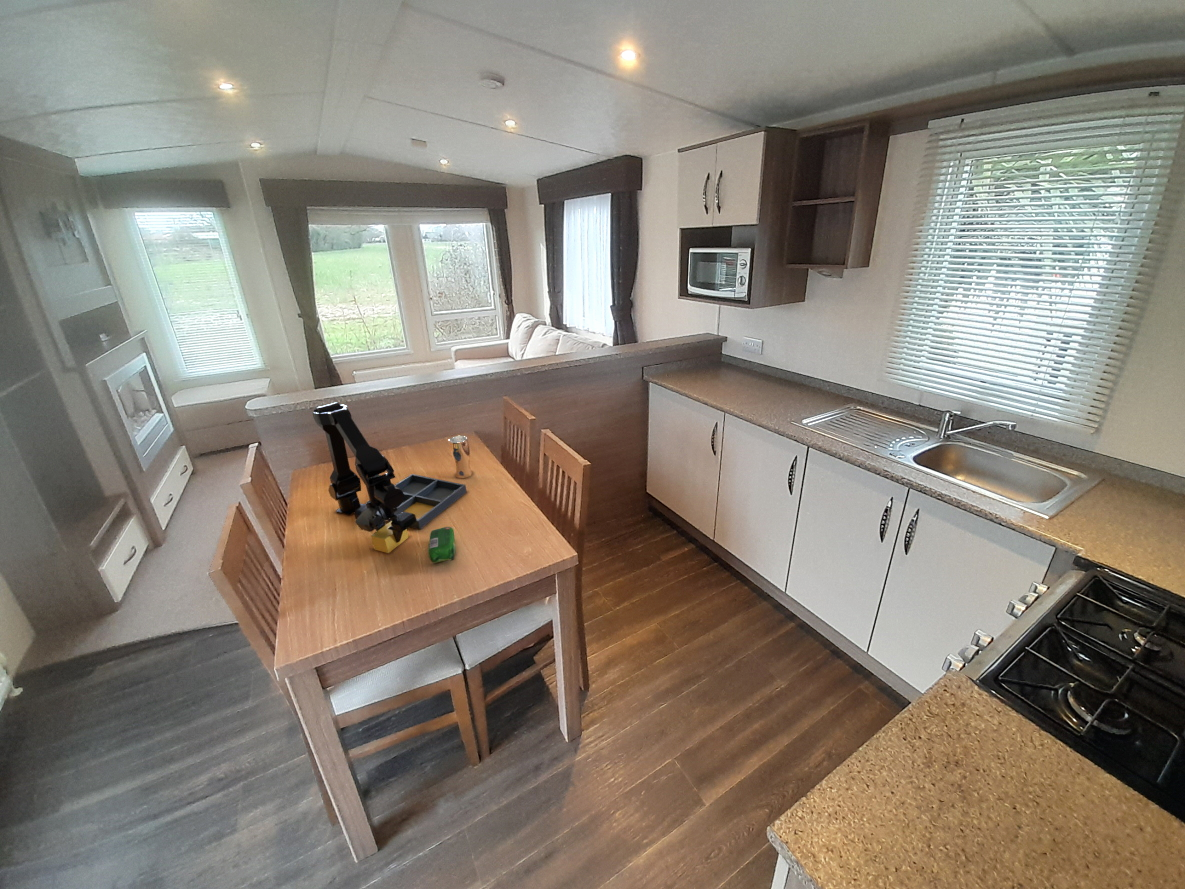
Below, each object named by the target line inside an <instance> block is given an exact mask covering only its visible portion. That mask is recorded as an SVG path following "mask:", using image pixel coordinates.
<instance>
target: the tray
mask: <svg viewBox="0 0 1185 889" xmlns="http://www.w3.org/2000/svg"><path fill="white" fill-rule="evenodd" d="M394 486H395V487H397V488H399V489H400V490H401V491H402V492H403V493H404V501H403V502H402V504H401V505H400V506H399V507H397V511H395V512H394V514H398V515H399V514H401V513H402V512H403V511H404V512H408V513H412V514H415V516H416V522H415V523H413V524H412V525H411V526H410V527H409V528H412V529H418V530H421V529H423V528H424V527H425V526H427V525H428V524H429V523H430V522H431V521H433V520H434V519H435V518H436V517H438V516H439V515H441V513H443V512H444V511H445V510H447V509H448V508H449V507H451V506H452V505H453V504H454V503H455V502H456V501H457V500H459V499H460V498H462V497H463V496H464V495H466V493H467V492H468V491H467V485H466V484H465V483H464V484H463V483H460V482H454V481H449V480H445V479H438V478H434V477H429V476H425V475H420V474H414V473H411V474H409V475H408V476H407V477H405V478H403V479H402V480H400V481H399V482H397V483H395V484H394ZM389 522H390V520H389V521H388V523H389Z"/></svg>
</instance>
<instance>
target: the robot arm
mask: <svg viewBox="0 0 1185 889" xmlns="http://www.w3.org/2000/svg"><path fill="white" fill-rule="evenodd" d="M312 417H313V420H314V421H315V423H316V424H317V426H318V427H320V429H322V431H324V434H325V438H326V442H327V446H328V450H329V454H330V455H329V456H330V459H331V463H332V467H333V470H332V472H331V474H330V476H329V480H330V481H329V482H330V484H329V486H328V490H327V491H328V493H329V496H330V497H331V498H332V499H333V500H335V501H337V504H338V507H339V508H337V509H336V510H335V512H336V513H338V514H342V515H347V516H351V515H353V516H354V519H355V521H354V523H355V525H356V526H357V528H359V529H360V530H361V531H365V532H368V533H372V532H373V531H374V530H375V532H377V531H378V530H379V529H381V528H382V527H383V526H385V525H386V522H389V520H390V521H392V522H391V526H390V527H389V528H388V529H389V530H392V532H393V534H394V537H395V540H396V542H397V543H398V542H400V540H401V537H402V533H403V531H404V530H406V529H407V530H408V528H411V527H410V526H411V525H412V524H413V523H415V522H416V516H415V514H412V513H408V512H404V511H403V512H402V513H401V514H399V515H398V514H394V512H395V511H397V507H399V506H400V505H401V504H402V502H403V501H404V493H403V492H402V491H401V490H400V489H399V488H397V487H395V486H394V485H395V484H393V483H392V480H393V479H396V475H395V470H394V468H393V467H392V464H391V463H390V461H389V460H388V458H386V456H385V455H383V454H382V453H381V452H380V451H379V449H378V448H376V447H374V446H371V445H370V444H369V442H368V441H367V439H366V438H365V436H364V435H363V433H362V431H361V430H360V429H359V427H358V426H357V424H356V422H355V421H354V420H353V417H352V414H351V411H350V410H349V408H348V406H347V405H345V404H340V403H339V402H338V401H337V402H333V403H330V404H326V405H322V406H318V407H315V409H314V410H313V412H312ZM346 444H347V446H348V447H349V449H350V451H351V452H352V454H353V456H354V458H355V460H354V465H355V472H354V470H353V469H351V467H350V466H351V465H350V460H349V457H348V456H349V455H348V452H347V447H346ZM386 472H387V473H386ZM383 473H384V474H383ZM361 481H362V482H361ZM362 483H363V484H364V485H365V489H366V493H367V496H368V501H366V503H361V502H360V498H359V497H358V493H359V492H361V491H362V485H361V484H362Z"/></svg>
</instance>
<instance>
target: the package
mask: <svg viewBox="0 0 1185 889" xmlns="http://www.w3.org/2000/svg"><path fill="white" fill-rule="evenodd" d="M391 522H392V521H390V522H389V521H388V522H387V523H385V526H383V527H382V528H381V529H379V530H378V531H375V532H374V533H372V534H371V535H370V538H371V542H372V545H373V550H375V551H379V552H382V553H386V554H390V553H391V552H392V551H394V550H395V549H396V548H397V547H398V546H400V545H401V544H402V543H403V542H405V541H406V540H407V539H408V538H409V537H410V536H409V533H408V528H407V529H406V530H404V531H403V533H402V537H401V540H400V542H398V543H397V542H396V540H395V537H394V534H393V532H392V530H389V529H388V528H389V527H390V526H391Z"/></svg>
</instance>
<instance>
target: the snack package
mask: <svg viewBox="0 0 1185 889" xmlns="http://www.w3.org/2000/svg"><path fill="white" fill-rule="evenodd" d="M455 538H456V537H455V532H454V528H453V527H452V526H444V527H443V526H442V527H440V528H435V529H433V530H431V531H430V533H429V540H428V555H429V559H430V562H432V563H434V564H436V563H437V564H438V563H441V562H445V561H449V560H450V561H454V560H455V553H456V545H455V544H456V543H455V540H456V539H455Z"/></svg>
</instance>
